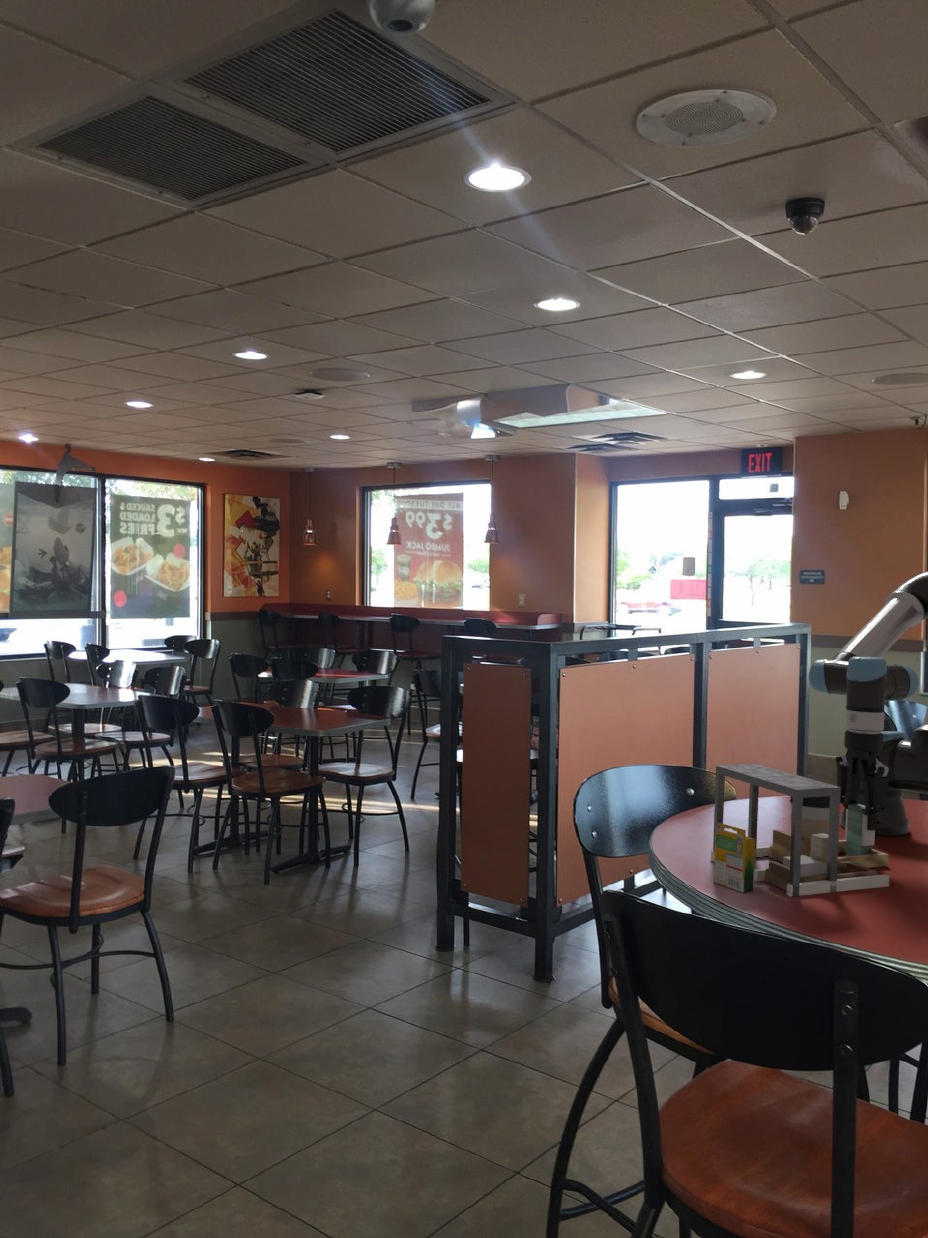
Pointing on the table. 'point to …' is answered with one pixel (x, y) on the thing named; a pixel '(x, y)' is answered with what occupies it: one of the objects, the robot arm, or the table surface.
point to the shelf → (798, 790)
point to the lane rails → (824, 885)
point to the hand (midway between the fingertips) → (859, 842)
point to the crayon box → (734, 858)
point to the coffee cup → (814, 816)
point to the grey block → (807, 866)
